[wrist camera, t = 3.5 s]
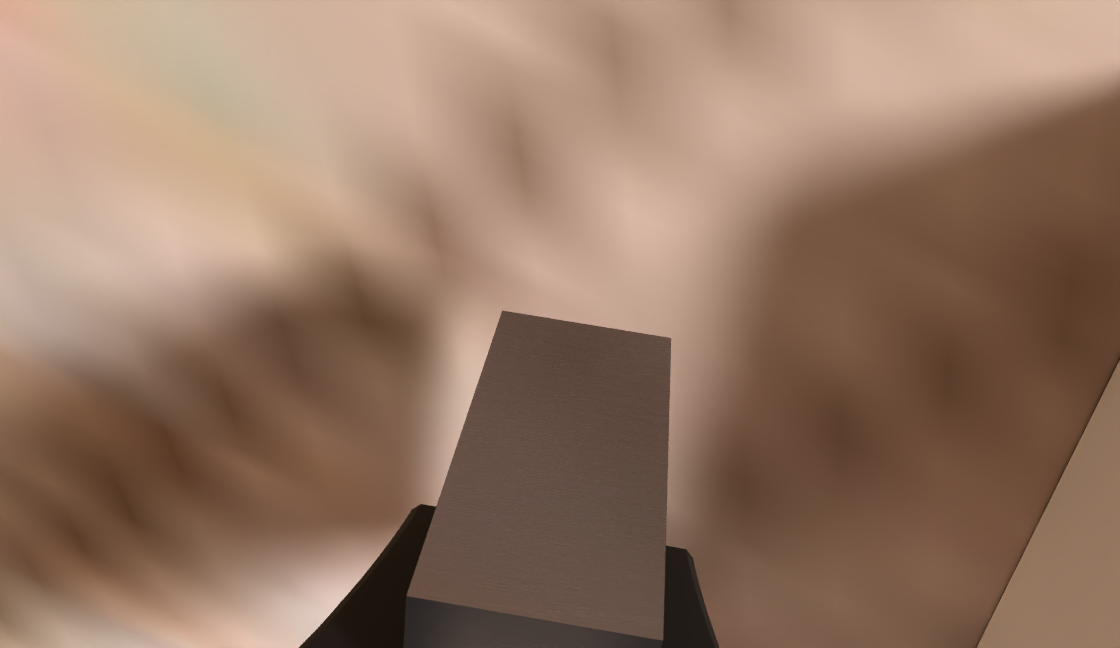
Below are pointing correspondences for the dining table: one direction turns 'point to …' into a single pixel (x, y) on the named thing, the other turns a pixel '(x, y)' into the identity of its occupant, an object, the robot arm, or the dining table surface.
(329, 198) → the dining table surface
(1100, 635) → the box
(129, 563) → the dining table surface
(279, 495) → the dining table surface
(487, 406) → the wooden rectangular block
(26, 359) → the dining table surface
